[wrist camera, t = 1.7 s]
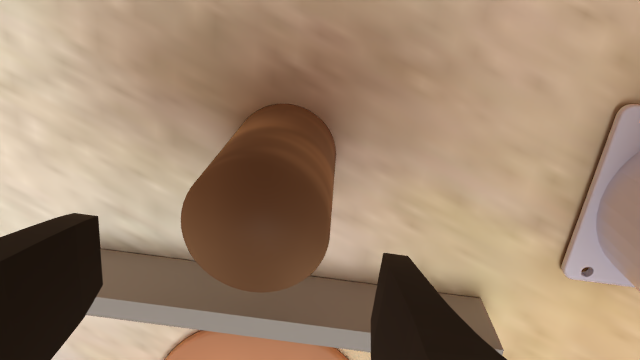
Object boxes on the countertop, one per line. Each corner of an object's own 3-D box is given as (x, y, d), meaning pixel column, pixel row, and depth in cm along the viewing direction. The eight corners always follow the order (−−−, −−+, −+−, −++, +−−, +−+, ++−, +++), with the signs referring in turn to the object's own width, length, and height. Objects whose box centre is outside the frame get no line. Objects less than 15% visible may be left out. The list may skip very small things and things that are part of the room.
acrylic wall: (480, 298, 22) (503, 350, 19) (475, 315, 23) (497, 369, 19) (69, 244, 22) (21, 287, 19) (70, 262, 23) (25, 306, 20)
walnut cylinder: (342, 110, 19) (338, 169, 13) (329, 205, 21) (320, 301, 14) (237, 97, 19) (181, 149, 13) (232, 193, 21) (180, 282, 14)
